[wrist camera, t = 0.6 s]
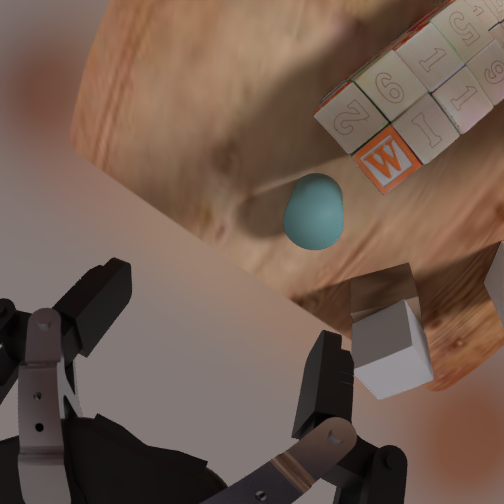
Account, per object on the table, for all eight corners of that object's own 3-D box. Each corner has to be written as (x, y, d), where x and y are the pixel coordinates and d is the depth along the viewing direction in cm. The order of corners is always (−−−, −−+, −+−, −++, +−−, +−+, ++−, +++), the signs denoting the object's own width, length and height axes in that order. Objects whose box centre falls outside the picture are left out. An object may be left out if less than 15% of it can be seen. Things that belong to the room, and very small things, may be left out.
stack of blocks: (470, -19, 15) (531, -52, 4) (510, 33, 16) (585, 29, 6) (319, 100, 26) (309, 116, 16) (365, 150, 27) (383, 199, 17)
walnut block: (408, 261, 32) (418, 296, 27) (417, 307, 35) (425, 343, 30) (350, 278, 35) (350, 313, 30) (364, 321, 38) (365, 357, 33)
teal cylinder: (337, 169, 29) (337, 191, 24) (346, 216, 31) (347, 246, 26) (287, 177, 31) (276, 200, 26) (298, 222, 33) (290, 253, 28)
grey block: (404, 298, 27) (412, 345, 23) (425, 334, 29) (433, 379, 24) (352, 323, 30) (350, 370, 26) (377, 355, 32) (378, 400, 27)
